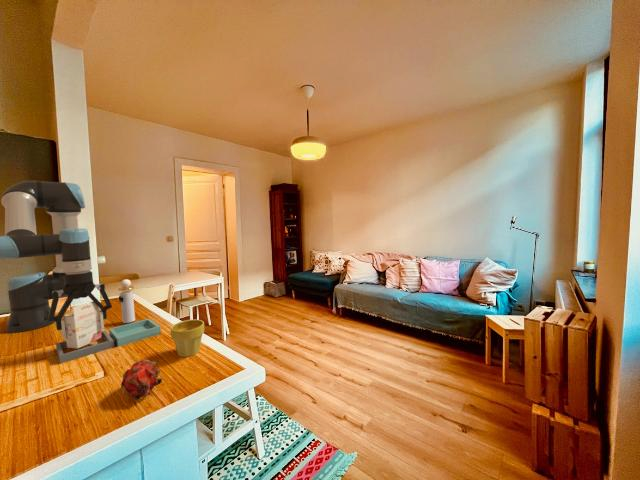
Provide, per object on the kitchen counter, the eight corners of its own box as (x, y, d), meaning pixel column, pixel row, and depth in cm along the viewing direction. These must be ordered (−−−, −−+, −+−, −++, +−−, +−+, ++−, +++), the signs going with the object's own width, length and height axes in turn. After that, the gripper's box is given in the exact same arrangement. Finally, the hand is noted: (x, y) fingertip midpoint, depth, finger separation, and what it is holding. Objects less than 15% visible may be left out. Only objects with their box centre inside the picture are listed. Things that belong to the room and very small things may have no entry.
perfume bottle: (134, 319, 123) (131, 277, 121) (138, 322, 119) (135, 279, 117) (119, 323, 118) (115, 279, 117) (123, 326, 114) (119, 281, 113)
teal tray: (109, 336, 104) (108, 329, 104) (149, 325, 115) (149, 318, 115) (118, 346, 95) (117, 338, 95) (160, 333, 106) (160, 326, 106)
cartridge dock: (56, 350, 94) (55, 343, 94) (105, 336, 104) (105, 330, 104) (60, 363, 85) (59, 356, 85) (114, 347, 95) (113, 340, 95)
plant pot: (212, 348, 93) (210, 321, 92) (186, 362, 83) (184, 333, 83) (191, 342, 97) (190, 317, 96) (165, 356, 88) (163, 328, 87)
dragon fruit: (145, 383, 76) (147, 413, 66) (113, 377, 71) (111, 408, 61) (163, 356, 77) (169, 382, 68) (134, 349, 72) (135, 375, 63)
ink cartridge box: (91, 336, 99) (88, 299, 98) (102, 337, 98) (98, 299, 97) (65, 347, 91) (61, 306, 90) (77, 349, 90) (73, 307, 89)
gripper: (31, 279, 82) (39, 348, 83) (119, 268, 98) (124, 325, 100) (31, 276, 86) (38, 341, 88) (114, 266, 103) (119, 320, 105)
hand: (83, 332), depth 94 cm, fingers closed on ink cartridge box, 10 cm apart
